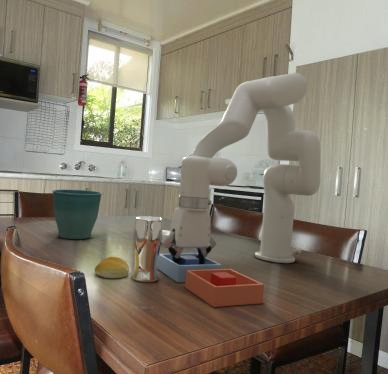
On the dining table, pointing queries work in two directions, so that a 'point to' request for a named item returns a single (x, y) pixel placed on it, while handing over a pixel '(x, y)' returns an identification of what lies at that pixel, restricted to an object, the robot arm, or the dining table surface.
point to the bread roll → (112, 268)
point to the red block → (222, 279)
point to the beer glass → (147, 247)
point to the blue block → (189, 260)
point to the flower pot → (76, 212)
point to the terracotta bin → (224, 288)
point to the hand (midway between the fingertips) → (187, 271)
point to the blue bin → (182, 266)
